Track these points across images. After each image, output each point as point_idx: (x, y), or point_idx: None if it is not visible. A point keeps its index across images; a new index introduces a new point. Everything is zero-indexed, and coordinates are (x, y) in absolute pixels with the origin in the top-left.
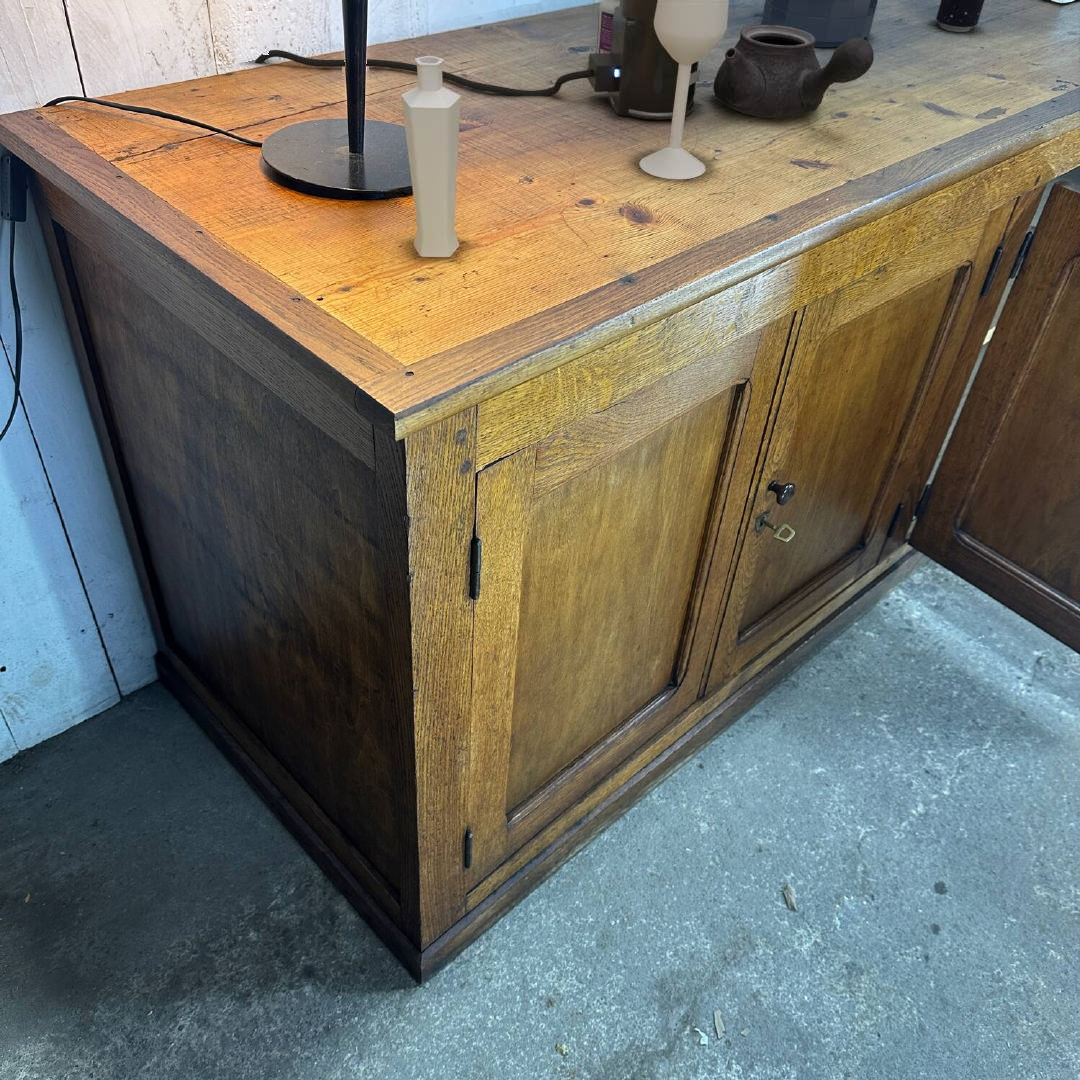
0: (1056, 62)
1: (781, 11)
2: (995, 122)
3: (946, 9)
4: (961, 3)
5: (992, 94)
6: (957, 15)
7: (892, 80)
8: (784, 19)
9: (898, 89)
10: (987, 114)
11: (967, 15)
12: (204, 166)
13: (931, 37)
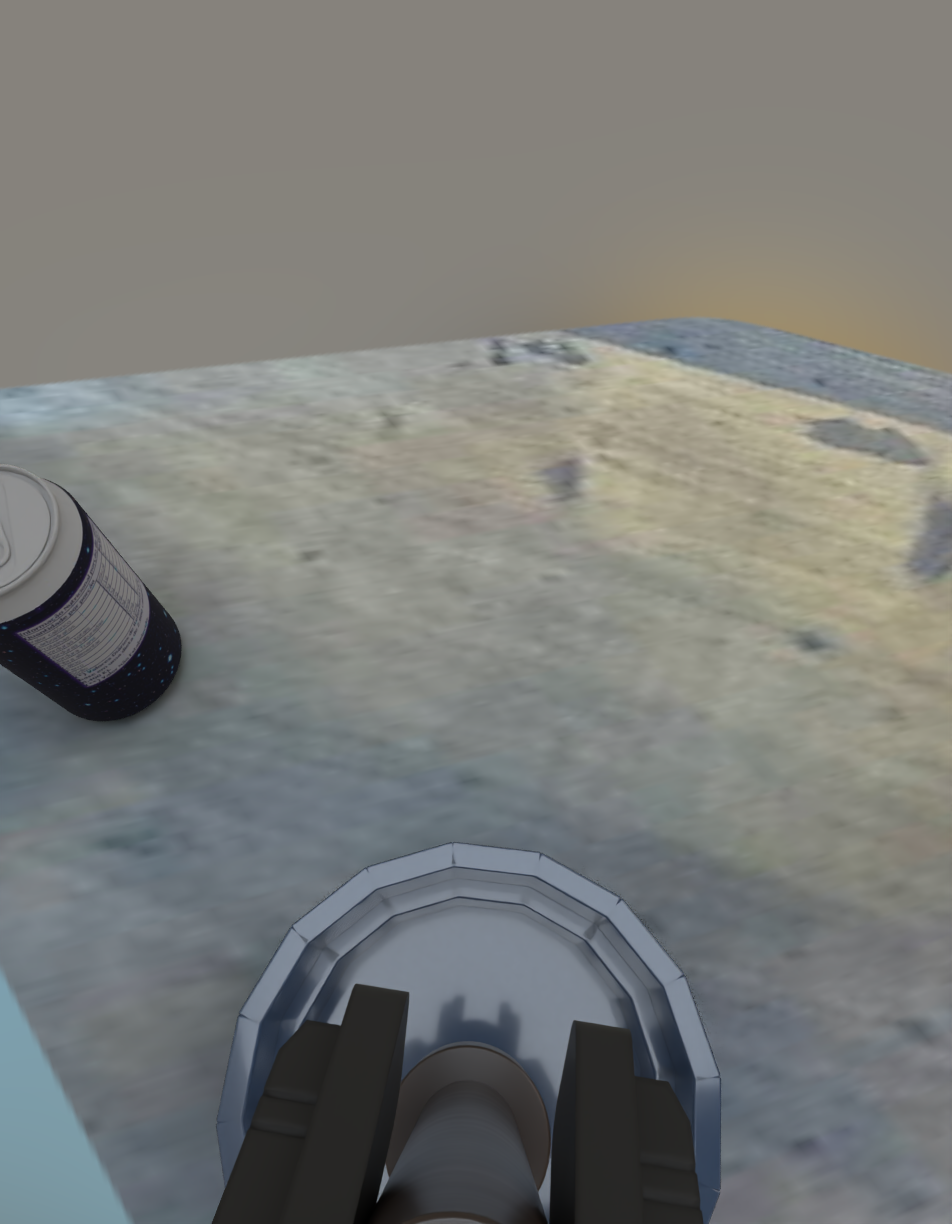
0: (333, 383)
1: None
2: (918, 424)
3: (152, 675)
4: (158, 623)
5: (718, 462)
6: (172, 638)
7: (799, 694)
8: None
9: (863, 661)
10: (877, 447)
11: (164, 610)
12: None
13: (277, 701)
